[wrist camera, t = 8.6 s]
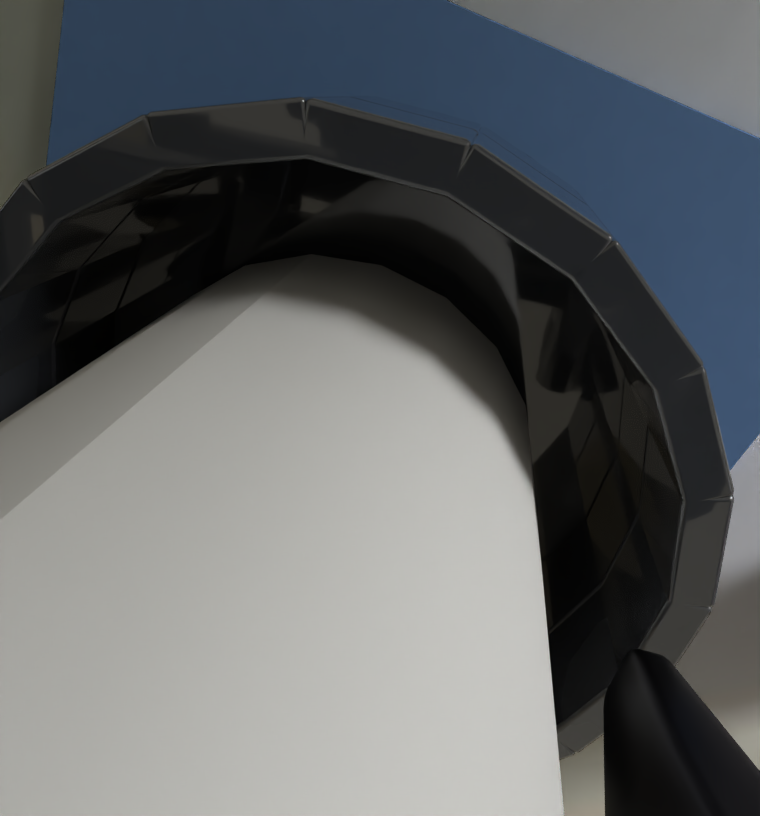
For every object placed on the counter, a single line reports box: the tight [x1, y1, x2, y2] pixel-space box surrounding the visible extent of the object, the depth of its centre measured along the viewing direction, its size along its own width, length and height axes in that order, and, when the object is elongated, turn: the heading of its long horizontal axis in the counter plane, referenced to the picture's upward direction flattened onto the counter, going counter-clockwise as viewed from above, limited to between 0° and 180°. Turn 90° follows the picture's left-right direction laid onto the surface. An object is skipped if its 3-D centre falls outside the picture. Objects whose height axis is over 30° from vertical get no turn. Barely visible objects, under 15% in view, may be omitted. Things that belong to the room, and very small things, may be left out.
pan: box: [0, 96, 734, 760], centre depth 11 cm, size 11×11×4 cm
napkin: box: [46, 0, 760, 470], centre depth 13 cm, size 14×14×1 cm
